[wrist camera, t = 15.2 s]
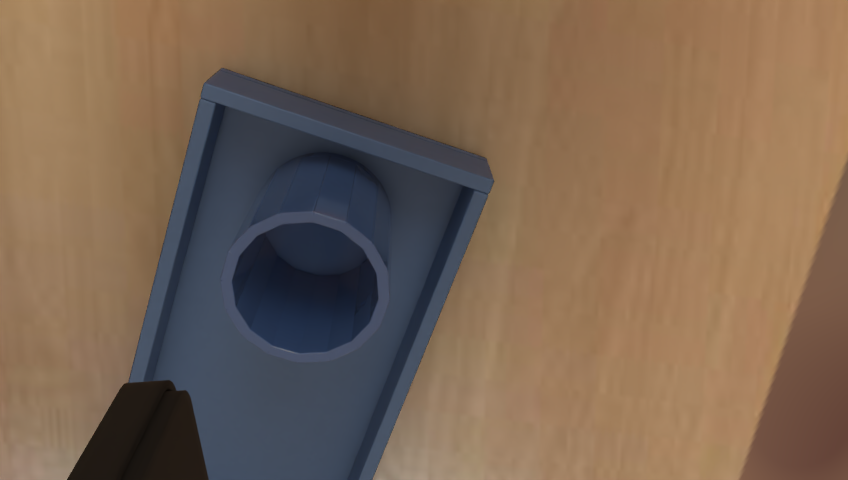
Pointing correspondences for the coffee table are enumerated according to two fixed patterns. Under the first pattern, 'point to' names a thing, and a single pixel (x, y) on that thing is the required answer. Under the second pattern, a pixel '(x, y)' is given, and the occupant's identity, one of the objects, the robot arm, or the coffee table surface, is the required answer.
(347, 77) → the coffee table surface
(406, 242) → the blue tray
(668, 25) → the coffee table surface
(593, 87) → the coffee table surface
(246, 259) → the blue cup
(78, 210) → the coffee table surface
